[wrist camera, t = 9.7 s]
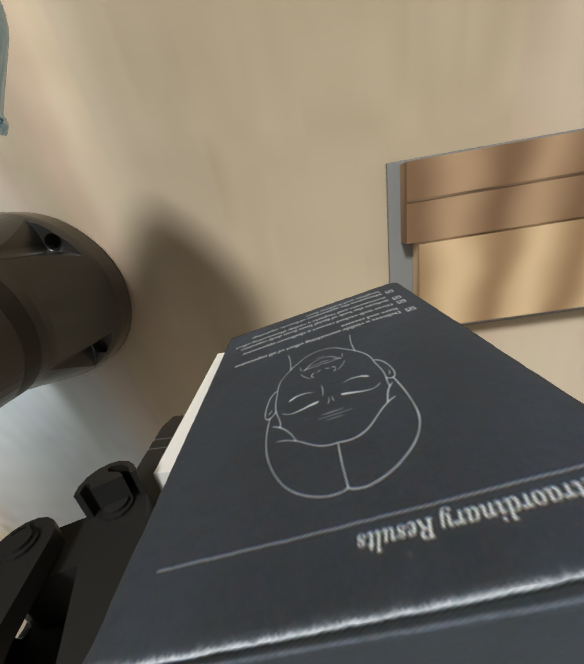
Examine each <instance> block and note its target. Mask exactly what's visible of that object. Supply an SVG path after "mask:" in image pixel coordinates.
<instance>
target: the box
mask: <svg viewBox="0 0 584 664" xmlns="http://www.w3.org/2000/svg"><path fill="white" fill-rule="evenodd" d="M82 664H584V404H583V403H581V402H580V401H578V400H576V399H575V398H573V397H572V396H570V395H568V394H567V393H565V392H564V391H562V390H561V389H559V388H558V387H556V386H555V385H553V384H552V383H550V382H549V381H547V380H546V379H544V378H543V377H541V376H540V375H538V374H536V373H535V372H533V371H532V370H530V369H528V368H526V367H525V366H524V365H522V364H521V363H520V362H518V361H516V360H515V359H513V358H512V357H510V356H508V355H507V354H505V353H504V352H502V351H501V350H499V349H498V348H496V347H495V346H493V345H492V344H490V343H489V342H487V341H486V340H484V339H483V338H481V337H480V336H478V335H477V334H475V333H474V332H472V331H471V330H469V329H468V328H466V327H465V326H463V325H461V324H460V323H459V322H457V321H455V320H453V319H452V318H450V317H449V316H447V315H446V314H444V313H442V312H441V311H439V310H438V309H437V308H435V307H434V306H432V305H431V304H429V303H427V302H426V301H424V300H423V299H421V298H420V297H418V296H417V295H415V294H414V293H412V292H411V291H409V290H408V289H406V288H405V287H403V286H402V285H400V284H398V283H390V284H386V285H384V286H381V287H378V288H375V289H371V290H369V291H366V292H364V293H361V294H358V295H355V296H352V297H349V298H346V299H343V300H340V301H337V302H334V303H332V304H329V305H326V306H324V307H320V308H317V309H315V310H312V311H309V312H306V313H303V314H300V315H297V316H294V317H292V318H289V319H286V320H283V321H280V322H277V323H275V324H272V325H269V326H266V327H263V328H261V329H258V330H255V331H252V332H249V333H246V334H243V335H241V336H238V337H235V338H233V339H231V340H230V342H229V345H228V347H227V349H226V351H225V354H224V355H223V358H222V360H221V362H220V365H219V367H218V369H217V371H216V373H215V375H214V378H213V380H212V382H211V385H210V386H209V388H208V391H207V393H206V395H205V397H204V400H203V402H202V404H201V406H200V408H199V411H198V413H197V415H196V417H195V420H194V422H193V424H192V425H191V428H190V430H189V432H188V434H187V436H186V439H185V441H184V444H183V446H182V447H181V450H180V452H179V454H178V456H177V458H176V461H175V463H174V465H173V467H172V469H171V471H170V474H169V476H168V478H167V481H166V483H165V485H164V487H163V489H162V491H161V493H160V495H159V498H158V500H157V504H156V505H155V507H154V509H153V511H152V514H151V516H150V518H149V521H148V523H147V525H146V527H145V530H144V532H143V534H142V536H141V538H140V540H139V542H138V544H137V546H136V548H135V550H134V552H133V555H132V557H131V559H130V561H129V563H128V566H127V568H126V570H125V573H124V575H123V577H122V579H121V581H120V584H119V586H118V588H117V590H116V592H115V594H114V597H113V599H112V601H111V603H110V606H109V609H108V611H107V614H106V616H105V619H104V622H103V624H102V626H101V628H100V630H99V632H98V634H97V636H96V638H95V640H94V642H93V645H92V647H91V649H90V650H89V652H88V654H87V656H86V658H85V659H84V661H83V663H82Z"/></svg>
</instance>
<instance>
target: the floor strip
mask: <svg viewBox="0 0 584 664" xmlns="http://www.w3.org/2000/svg"><path fill="white" fill-rule="evenodd" d="M400 215H401V243H405V244H411V243H418V242H424V241H430V240H437V239H443V238H449V237H456V236H462V235H468V234H475V233H481V232H487V231H494V230H500V229H506V228H513V227H519V226H525V225H532V224H538V223H544V222H550V221H557V220H563V219H569V218H576V217H582V216H584V130H582V131H576V132H571V133H565V134H559V135H554V136H548V137H542V138H537V139H531V140H526V141H520V142H514V143H509V144H503V145H497V146H492V147H486V148H481V149H475V150H469V151H464V152H458V153H452V154H447V155H441V156H436V157H430V158H424V159H419V160H413V161H407V162H405V163H403V164H401V165H400Z"/></svg>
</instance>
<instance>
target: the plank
mask: <svg viewBox="0 0 584 664" xmlns="http://www.w3.org/2000/svg"><path fill="white" fill-rule="evenodd" d="M413 293H414V294H415V295H417V296H418V297H420V298H421V299H423V300H424V301H426V302H427V303H429V304H431V305H432V306H434V307H435V308H437V309H438V310H439V311H441V312H442V313H444V314H446V315H447V316H449V317H450V318H452V319H453V320H455V321H457V322H459V323H460V324H461V323H468V322H475V321H483V320H490V319H497V318H505V317H512V316H519V315H526V314H534V313H541V312H548V311H556V310H563V309H570V308H577V307H584V216H582V217H576V218H569V219H563V220H557V221H550V222H544V223H538V224H532V225H525V226H519V227H513V228H506V229H500V230H494V231H487V232H481V233H475V234H468V235H462V236H456V237H449V238H443V239H437V240H430V241H424V242H418V243H413Z"/></svg>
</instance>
